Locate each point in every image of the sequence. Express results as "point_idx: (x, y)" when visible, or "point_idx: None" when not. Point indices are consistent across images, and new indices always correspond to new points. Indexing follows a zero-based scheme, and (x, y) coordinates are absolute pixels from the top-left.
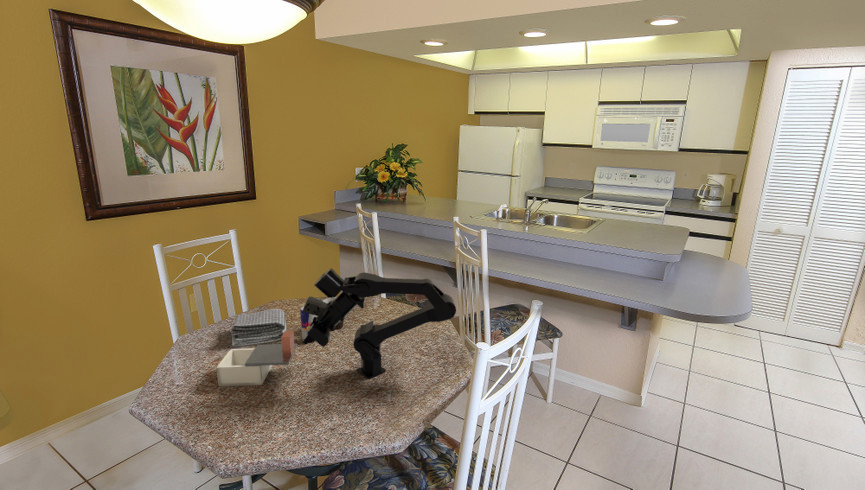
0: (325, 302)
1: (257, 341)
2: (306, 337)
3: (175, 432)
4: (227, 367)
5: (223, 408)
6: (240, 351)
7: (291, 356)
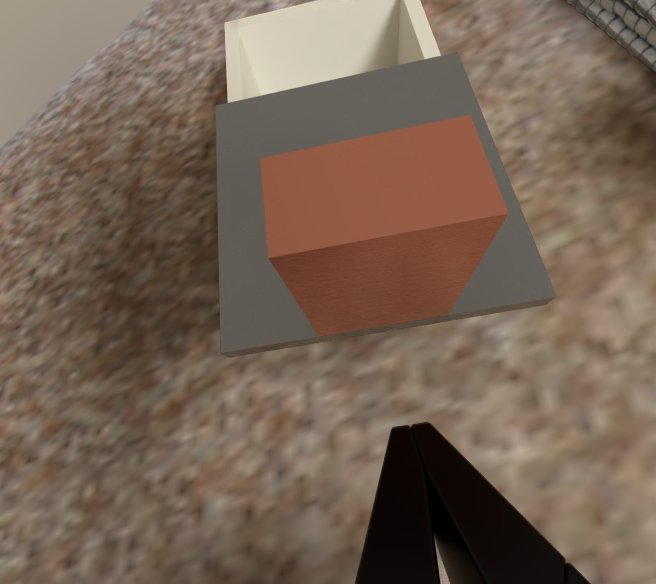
0: None
1: (651, 42)
2: (371, 520)
3: (22, 138)
4: (226, 59)
5: (117, 194)
6: (409, 25)
7: (328, 337)
